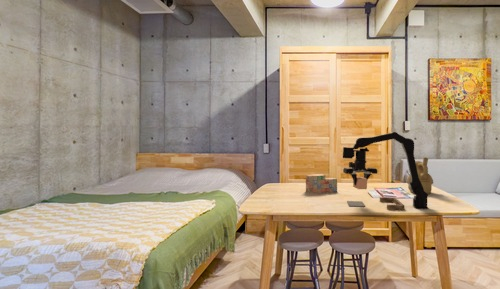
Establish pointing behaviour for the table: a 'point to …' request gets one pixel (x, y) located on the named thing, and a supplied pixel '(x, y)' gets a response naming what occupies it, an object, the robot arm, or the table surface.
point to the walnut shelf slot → (392, 207)
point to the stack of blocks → (320, 184)
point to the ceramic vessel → (423, 176)
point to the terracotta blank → (360, 183)
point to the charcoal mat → (355, 204)
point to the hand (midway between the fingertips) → (359, 185)
